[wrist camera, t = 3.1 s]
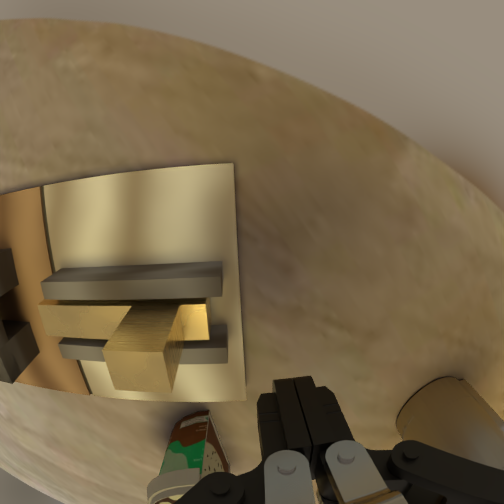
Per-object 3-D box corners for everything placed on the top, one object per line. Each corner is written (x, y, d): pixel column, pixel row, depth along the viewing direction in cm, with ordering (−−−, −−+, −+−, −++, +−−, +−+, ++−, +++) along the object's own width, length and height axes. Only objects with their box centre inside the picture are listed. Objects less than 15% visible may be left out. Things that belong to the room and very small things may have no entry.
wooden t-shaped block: (208, 288, 20) (196, 351, 12) (211, 321, 20) (202, 393, 13) (53, 292, 19) (-4, 339, 12) (61, 320, 20) (11, 373, 13)
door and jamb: (233, 163, 20) (233, 159, 13) (245, 385, 25) (249, 445, 18) (-22, 201, 19) (-74, 214, 12) (22, 371, 24) (-9, 409, 17)
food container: (142, 402, 25) (117, 485, 15) (205, 398, 25) (197, 489, 15) (181, 472, 28) (173, 540, 18) (232, 470, 28) (234, 541, 19)
